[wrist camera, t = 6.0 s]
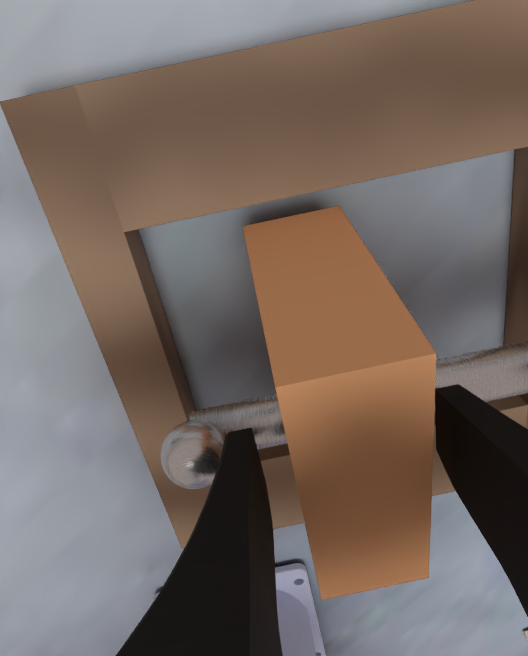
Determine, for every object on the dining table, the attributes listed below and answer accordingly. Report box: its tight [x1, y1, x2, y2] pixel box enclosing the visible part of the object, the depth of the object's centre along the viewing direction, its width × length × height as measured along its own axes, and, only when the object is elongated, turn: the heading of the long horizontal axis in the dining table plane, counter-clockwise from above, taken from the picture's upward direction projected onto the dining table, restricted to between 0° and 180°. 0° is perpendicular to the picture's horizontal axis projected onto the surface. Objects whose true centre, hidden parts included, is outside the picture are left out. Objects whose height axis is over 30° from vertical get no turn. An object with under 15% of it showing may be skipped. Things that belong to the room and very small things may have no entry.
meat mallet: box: [161, 341, 528, 489], centre depth 15 cm, size 4×17×8 cm, turn 101°
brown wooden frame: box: [0, 0, 528, 548], centre depth 18 cm, size 18×22×2 cm
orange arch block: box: [243, 206, 436, 600], centre depth 14 cm, size 8×3×7 cm, turn 11°
